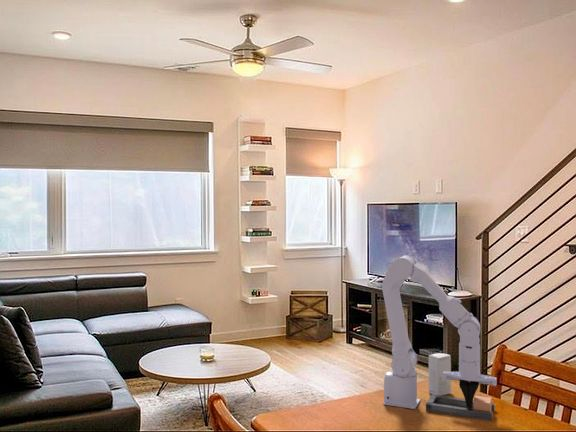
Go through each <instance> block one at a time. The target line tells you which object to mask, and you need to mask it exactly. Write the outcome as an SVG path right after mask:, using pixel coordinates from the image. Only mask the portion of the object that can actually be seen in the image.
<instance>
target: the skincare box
mask: <svg viewBox="0 0 576 432" xmlns="http://www.w3.org/2000/svg"><path fill="white" fill-rule="evenodd" d="M451 360H452V357H451V354H447V353H443V352H437V353H433V354H428V394H431V395H439V396H446V395H449V394H451V393H452V380H450V379H447V380H444V379H443V372H444V371H448V372H452V361H451Z"/></svg>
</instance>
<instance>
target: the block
mask: <svg viewBox="0 0 576 432" xmlns="http://www.w3.org/2000/svg"><path fill="white" fill-rule="evenodd" d="M492 399H493V398H492V397H488V396H483V395H480V396H479V395H474V398H473V400H474V401H473V409H476V410H483V411H490V412H492V403H493V402H492Z"/></svg>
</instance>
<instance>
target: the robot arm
mask: <svg viewBox="0 0 576 432" xmlns="http://www.w3.org/2000/svg"><path fill="white" fill-rule="evenodd" d="M408 278H409V281H410V282H414V283H417V284H419V285H421V286H422V287H423V288H424V289H425V290H426V291H427V292H428V294H430V295H431V297H433V299H435V300H436V301H437V302H438V304H439V306H438V309H439V311H440V312H441V314H443V316H444V317H445V318H446V319H447V320H448V321H449V322H450V323H451V324H452V326H454V327H456V329H457V333H458V335H459V343H458V371H451V372H448V371H444V372H443V379H444V380H447V379H450V380H451V381H458V382H459V383H458V386H459V388H460V390H461V393H462V394H463V397H464V398H463V399H465V401H466V406H467V408H469V409H470V408H472V402H473V400H474V398H475V396H476V395H475V394H476V392H477V391H478V388H479V385H480V384H482V385H491V386H493V387H496V386H497V382H498V381H497V377H495V376H490V375H485V374H481V345H480V341H481V339H480V334H481V324H480V322H479V320H478V318H477V317H475V316H474V314H473V313H472V312H469V311H468V309H466V308H465V307H464V306H463V304H462V300H461V299H460V298H457V297H455V296H451V295H447V294H446V292H445V291H444V290H443V288H442V287H441V285H439V284H438V283H437V282H436V280H435V279H434V278H433V277H432V275H430V273H429V271H427V270H426V269H425V268H424V266H422V264H421V263H419V262H417V260H416V259H415V258H414V257H412V256H411V255H407V254H406V255H401V256H400V257H398V258H396V259H394V260H393V261H392V262H391V263H390V264H389V265H388V267H387V270H386V273H385V275H384V278H383V280H382V283H381V289H382V295H383V299H384V306H385V310H386V316H387V321H388V326H389V332H390V338H391V341H392V348H391V354H392V359H391V364H390V365H391V370H392V371H386V373H385V374H384V379H383V405H384V406H385V405H386V406H393V407H398V408H404V409H405V408H406V409H410V410H416V408H417V407H418V406H419V403H420V402H421V398H418V397H417V396H418V373H417V371H416V369H415V366H416V365H417V363H418V355H417V353H416V352H415V351H414V349H413V345H412V343H411V341H410V339H409V334H408V327H407V322H406V319H405V312H404V308H403V301H402V297H401V292H400V291H401V290H400V288H401V287H402V285H403V284H404V282H405V281H406V280H407V279H408Z"/></svg>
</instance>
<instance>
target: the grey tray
mask: <svg viewBox="0 0 576 432" xmlns="http://www.w3.org/2000/svg"><path fill="white" fill-rule="evenodd" d="M473 401H474V399H473ZM495 409H496V403H494V402H492V412H490V411H483V410H476V409H473V402H472V408H467V406H466V401H465V398H459V397H454V396H446V395H441V396H439V395H433V394H431V395H430V397H429V398H428V399H427V401H426V403H425V411H426V412H431V413H437V414H442V415H443V414H445V415H449V416H450V415H451V416H458V417H463V418H464V417H465V418H469V419H477V420H483V421H490V422H493V417H494V416H493V415H494V414H493V413H494V412H495V411H496V410H495Z"/></svg>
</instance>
